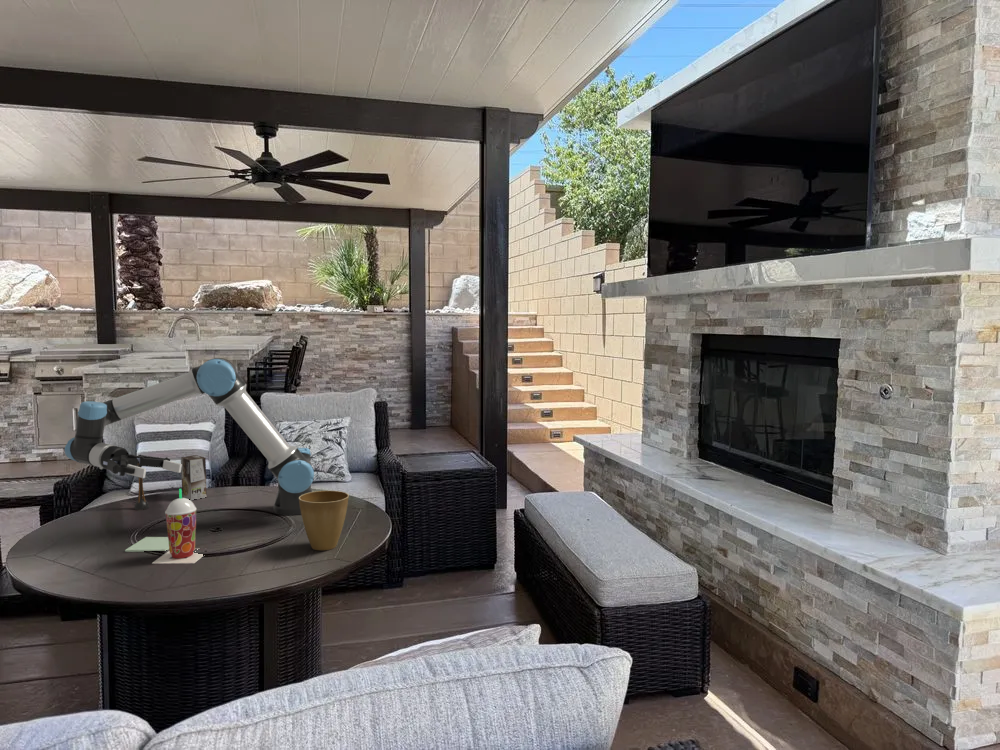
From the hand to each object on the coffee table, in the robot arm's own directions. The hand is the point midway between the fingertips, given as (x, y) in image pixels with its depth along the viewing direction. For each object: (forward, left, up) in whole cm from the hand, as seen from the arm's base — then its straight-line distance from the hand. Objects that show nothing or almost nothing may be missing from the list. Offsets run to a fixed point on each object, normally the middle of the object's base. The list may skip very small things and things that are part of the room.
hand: (163, 470), depth 199 cm
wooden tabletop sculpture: (+31, -45, -24) cm, 60 cm away
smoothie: (-8, +6, -24) cm, 26 cm away
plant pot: (-48, -2, -24) cm, 54 cm away
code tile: (-8, +6, -24) cm, 26 cm away
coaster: (+5, -4, -24) cm, 25 cm away
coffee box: (+18, -61, -24) cm, 68 cm away
